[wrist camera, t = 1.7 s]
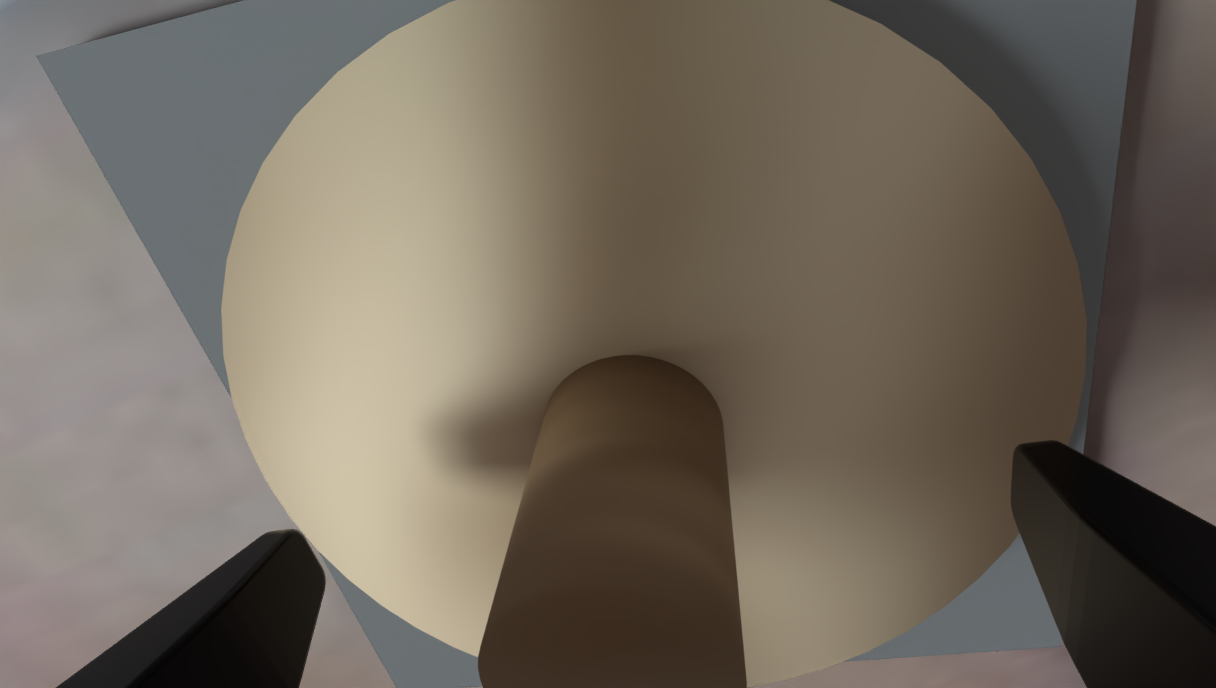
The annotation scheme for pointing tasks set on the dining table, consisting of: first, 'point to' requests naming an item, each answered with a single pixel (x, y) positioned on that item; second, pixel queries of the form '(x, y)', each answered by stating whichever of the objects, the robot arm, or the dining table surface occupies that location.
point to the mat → (381, 3)
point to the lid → (651, 335)
